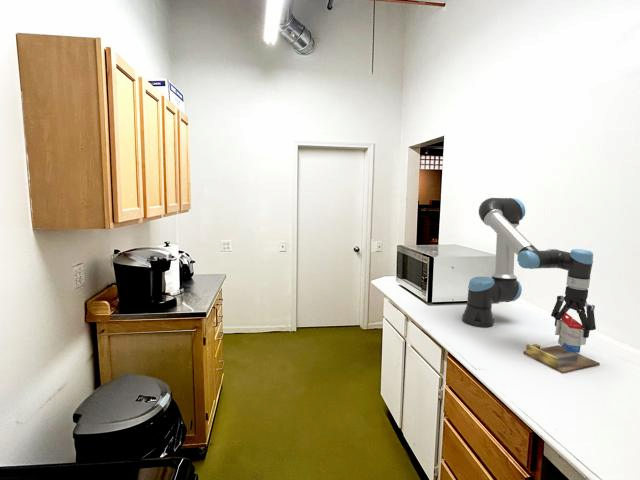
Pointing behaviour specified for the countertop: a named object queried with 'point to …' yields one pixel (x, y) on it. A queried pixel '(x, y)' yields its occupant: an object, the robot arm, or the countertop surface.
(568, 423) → the countertop surface
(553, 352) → the board
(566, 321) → the ink box
